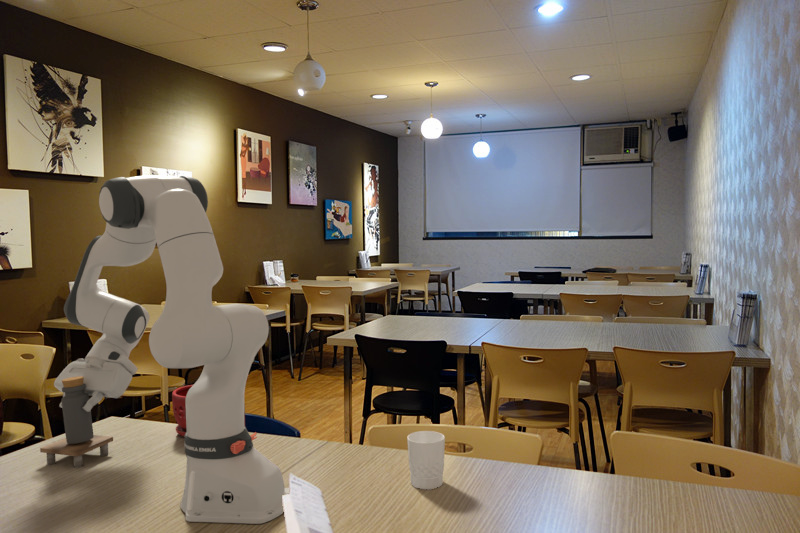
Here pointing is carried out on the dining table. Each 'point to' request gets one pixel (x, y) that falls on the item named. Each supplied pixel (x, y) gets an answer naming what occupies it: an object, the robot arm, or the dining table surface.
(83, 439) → the bottle
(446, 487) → the dining table surface
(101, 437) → the small wooden stand
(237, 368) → the robot arm
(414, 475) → the white cup
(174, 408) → the plant pot
